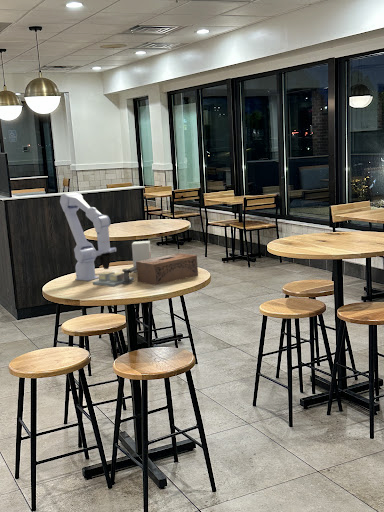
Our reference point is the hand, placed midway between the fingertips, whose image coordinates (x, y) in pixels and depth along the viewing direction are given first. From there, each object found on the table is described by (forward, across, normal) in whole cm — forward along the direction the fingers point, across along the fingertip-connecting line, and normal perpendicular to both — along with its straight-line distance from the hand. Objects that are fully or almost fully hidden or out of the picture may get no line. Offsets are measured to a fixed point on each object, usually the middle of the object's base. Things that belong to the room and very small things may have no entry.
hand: (106, 268), depth 309 cm
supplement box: (+7, +28, +1) cm, 29 cm away
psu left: (+5, 0, 0) cm, 5 cm away
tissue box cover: (+7, +16, -25) cm, 30 cm away
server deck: (+6, 0, -6) cm, 9 cm away
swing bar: (+2, +7, -11) cm, 13 cm away
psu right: (+5, 0, -7) cm, 9 cm away
